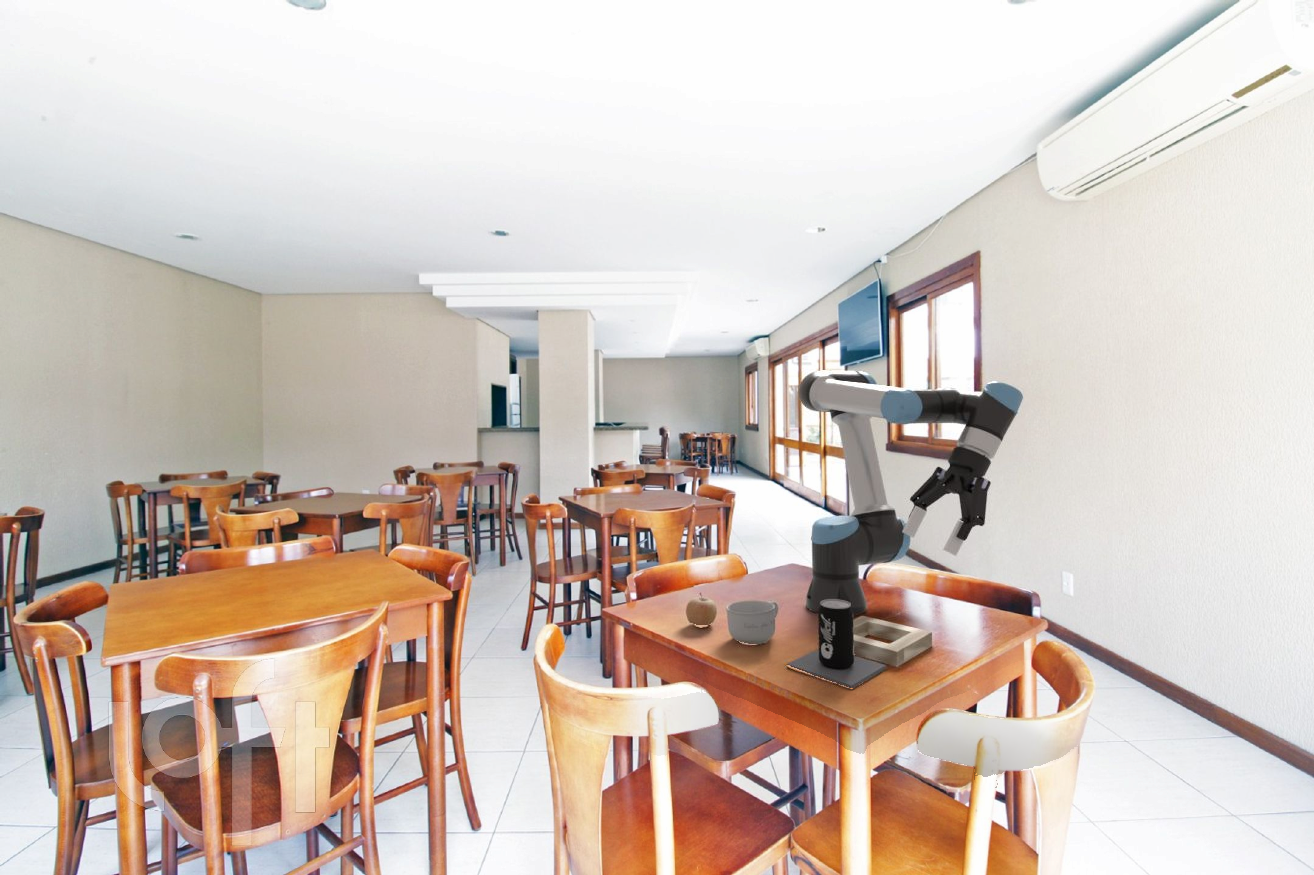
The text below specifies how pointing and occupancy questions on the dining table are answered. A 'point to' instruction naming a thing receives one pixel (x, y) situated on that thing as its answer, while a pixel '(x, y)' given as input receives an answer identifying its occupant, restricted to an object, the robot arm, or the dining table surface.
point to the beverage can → (836, 634)
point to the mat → (846, 677)
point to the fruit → (701, 611)
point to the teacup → (752, 620)
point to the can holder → (904, 638)
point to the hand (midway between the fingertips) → (927, 543)
